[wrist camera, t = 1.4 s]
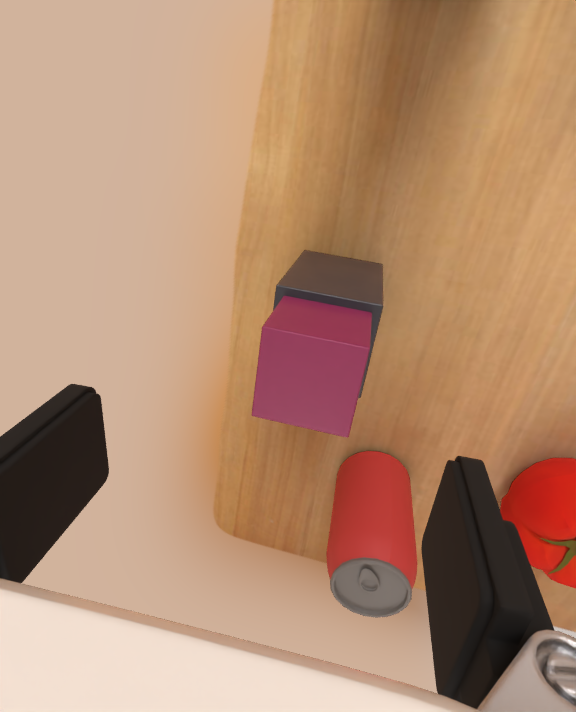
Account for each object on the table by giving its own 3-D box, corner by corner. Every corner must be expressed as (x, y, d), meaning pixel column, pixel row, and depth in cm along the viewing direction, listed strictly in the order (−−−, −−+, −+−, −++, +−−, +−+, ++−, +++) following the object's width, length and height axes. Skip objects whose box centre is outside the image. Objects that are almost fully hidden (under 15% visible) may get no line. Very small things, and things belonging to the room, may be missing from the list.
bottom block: (293, 322, 36) (264, 378, 27) (304, 249, 33) (276, 284, 24) (365, 336, 35) (360, 399, 26) (382, 263, 33) (383, 305, 24)
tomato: (606, 436, 35) (660, 503, 28) (614, 520, 38) (665, 599, 31) (481, 454, 38) (503, 520, 31) (498, 531, 41) (522, 606, 34)
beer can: (404, 444, 39) (413, 555, 28) (413, 502, 41) (425, 624, 30) (331, 449, 40) (314, 556, 30) (344, 505, 43) (332, 621, 32)
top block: (272, 372, 27) (251, 416, 22) (283, 295, 24) (262, 326, 20) (353, 389, 26) (348, 438, 22) (372, 312, 24) (370, 348, 19)
